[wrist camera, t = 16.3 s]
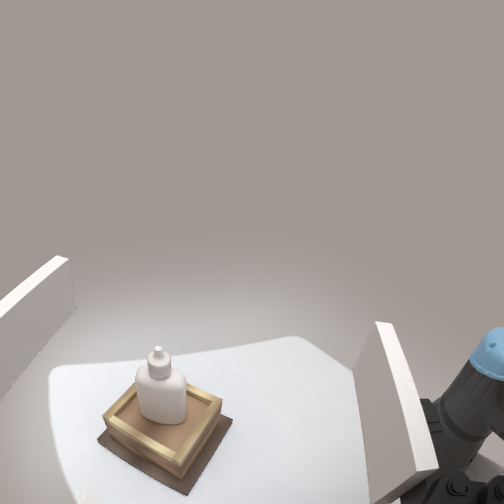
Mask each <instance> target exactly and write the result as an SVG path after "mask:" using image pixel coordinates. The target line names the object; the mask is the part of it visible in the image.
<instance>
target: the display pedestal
mask: <svg viewBox="0 0 504 504" xmlns="http://www.w3.org/2000/svg"><path fill="white" fill-rule="evenodd" d="M222 400H223V399H221V398H218V397H216V396H214V395H211V394H209V393H207V392H205V391H203V390H200V389H198V388H196V387H194V386H192V385H190V384H188V383H186V416H185V420H184V422H182V423H180V424H172V425H168V424H160V423H156V422H154V421H151V420H149V419H147V418H145V417H144V416H143V415H142V414H141V411H140V406H139V401H138V396H137V390H136V384H135V383H134V384H133V385H132V386H131V387H130V388H129V389H128V390H127V391H126V392H125V393H124V394H123V395H122V396H121V397H120V398H119V399H118V400H117V401H116V402H115V403H114V404H113V405H112V406H111V407H110V408H109V409H108V411H107V412H106V413H105V414H104V415H103V419H104V421H105V424H106V426H107V429H106V430H105V431H104V432H103V433H102V434H101V435H100V436H99V438H98V439H97V440H98V442H99V443H100V444H101V445H103V446H104V447H106V448H107V449H109V450H110V451H111V452H113V453H114V454H116V455H117V456H119V457H120V458H122V459H123V460H125V461H126V462H128V463H129V464H131V465H133V466H134V467H136V468H137V469H139V470H141V471H142V472H144V473H146V474H147V475H149V476H151V477H153V478H154V479H156V480H158V481H160V482H161V483H163V484H165V485H167V486H169V487H171V488H173V489H174V490H176V491H178V492H180V493H182V494H184V495H186V496H187V495H188V494H189V492H190V490H191V489H192V487H193V486H194V484H195V483H196V481H197V480H198V478H199V476H200V475H201V473H202V472H203V470H204V468H205V467H206V465H207V464H208V462H209V460H210V459H211V457H212V456H213V454H214V452H215V451H216V449H217V447H218V446H219V444H220V442H221V441H222V439H223V437H224V436H225V434H226V432H227V430H228V429H229V427H230V425H231V424H232V421H233V419H231V418H229V417H226V416H224V415H222V414H220V413H221V406H222Z"/></svg>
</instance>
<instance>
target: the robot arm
mask: <svg viewBox="0 0 504 504" xmlns="http://www.w3.org/2000/svg"><path fill="white" fill-rule="evenodd" d="M70 271H71V270H70V264H69V259H68V258H64V257H60V256H55V257H54V258H53V259H52V260H50V261H49V262H48V263H46V264H45V265H44V266H42V267H41V268H40V269H39V270H37V271H36V272H35V273H34V274H32V275H31V276H30V277H29V278H27V279H26V280H25V281H24V282H22V283H21V284H20V285H19V286H18V287H16V288H15V289H14V290H13V291H12V292H10V293H9V294H8V295H7V296H6V297H5V298H3V299H2V300H1V301H0V401H1V400H2V398H3V397H4V396H5V394H6V393H7V392H8V391H9V389H10V388H11V387H12V385H13V384H14V383H15V382H16V380H17V379H18V378H19V376H20V375H21V374H22V373H23V371H24V370H25V369H26V368H27V366H28V365H29V364H30V363H31V361H32V360H33V359H34V358H35V357H36V355H37V354H38V353H39V352H40V351H41V350H42V348H43V347H44V346H45V345H46V344H47V342H48V341H49V340H50V339H51V338H52V337H53V335H54V334H55V333H56V332H57V331H58V330H59V329H60V328H61V326H62V325H63V324H64V323H65V322H66V321H67V320H68V318H69V317H70V316H71V315H72V314H73V313H74V312H75V311H76V310H77V305H76V300H75V295H74V289H73V283H72V277H71V272H70ZM352 371H353V376H354V382H355V388H356V394H357V400H358V406H359V413H360V419H361V426H362V434H363V441H364V449H365V457H366V466H367V475H368V485H369V496H370V504H390V503H392V502H394V501H395V500H397V499H398V498H400V501H401V504H504V476H496V477H494V478H493V479H492V480H490V481H489V482H488V483H483V482H474V481H470V480H469V478H468V477H467V475H465V474H464V473H463V472H462V470H464V469H465V468H466V467H467V466H468V465H469V464H470V463H471V462H472V461H473V459H474V458H475V456H476V454H477V452H478V451H479V449H480V447H481V446H482V444H483V442H484V441H485V439H486V438H487V437H488V436H489V435H490V433H492V432H494V433H496V434H497V435H498V436H499V437H500V438H501V439H503V440H504V327H499V328H495V329H492V330H490V331H489V332H488V333H486V334H485V336H484V337H483V338H482V340H481V341H480V343H479V344H478V346H477V347H476V348H475V349H474V350H473V351H472V352H471V354H470V358H469V360H468V361H467V363H466V364H465V366H464V367H463V369H462V370H461V371H460V373H459V374H458V376H457V377H456V378H455V380H454V381H453V382H452V384H451V385H450V386H449V388H448V389H447V390H446V391H445V393H444V394H443V395H442V396H441V397H440V398H438V399H437V400H436V401H434V402H433V403H431V401H430V400H429V399H419V396H418V393H417V390H416V387H415V384H414V382H413V379H412V376H411V373H410V370H409V367H408V365H407V362H406V360H405V357H404V354H403V351H402V349H401V346H400V343H399V341H398V338H397V336H396V333H395V331H394V328H393V326H392V324H391V323H383V322H375V323H374V325H373V328H372V330H371V332H370V334H369V336H368V338H367V341H366V342H365V345H364V347H363V349H362V351H361V353H360V355H359V357H358V359H357V361H356V363H355V364H354V367H353V369H352Z"/></svg>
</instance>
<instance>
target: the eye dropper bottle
mask: <svg viewBox="0 0 504 504" xmlns="http://www.w3.org/2000/svg"><path fill="white" fill-rule="evenodd" d="M147 362H148V365H145V366H142V367H140V368H139V369H138V371H137V373H136V377H135V384H136V390H137V396H138V401H139V406H140V411H141V414H142V415H143V416H144V417H145V418H147V419H149V420H151V421H154V422H156V423H160V424H168V425H172V424H180V423H182V422H184V420H185V416H186V377H185V376H184V375H183V374H182V373H181V372H179V371H177V370H176V369H174V368H172V367H171V358H170V355H169V354H168V353H167V352H165V351H163V350H162V348H161V347H160V346H156V347H155V350H154V351H152V352H151V353H150V354H149V355H148V357H147Z"/></svg>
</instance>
